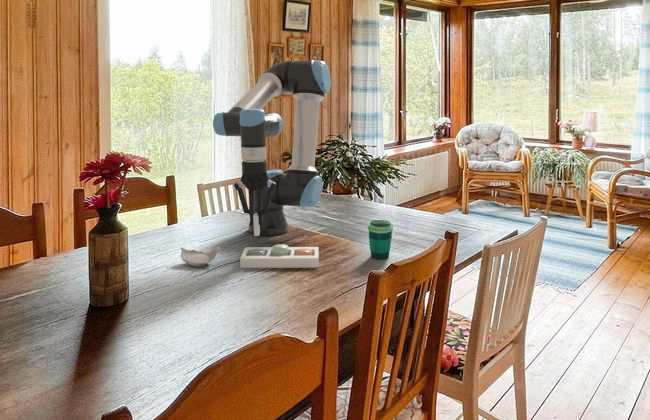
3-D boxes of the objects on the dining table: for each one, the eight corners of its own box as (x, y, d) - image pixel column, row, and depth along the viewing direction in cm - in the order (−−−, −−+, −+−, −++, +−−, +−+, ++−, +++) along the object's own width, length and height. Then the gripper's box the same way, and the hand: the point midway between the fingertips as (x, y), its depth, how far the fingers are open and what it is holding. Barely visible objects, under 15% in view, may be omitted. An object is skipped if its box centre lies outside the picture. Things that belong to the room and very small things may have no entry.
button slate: (248, 262, 173) (248, 253, 172) (250, 257, 177) (249, 248, 177) (264, 262, 173) (264, 253, 172) (265, 257, 177) (265, 248, 177)
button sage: (272, 258, 172) (271, 248, 172) (273, 253, 177) (273, 244, 176) (288, 257, 172) (287, 248, 172) (289, 253, 177) (288, 244, 177)
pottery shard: (176, 263, 174) (175, 248, 172) (207, 256, 181) (206, 241, 180) (193, 271, 166) (193, 255, 165) (225, 263, 174) (224, 248, 173)
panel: (240, 267, 169) (240, 258, 169) (245, 256, 181) (245, 247, 180) (318, 267, 169) (318, 258, 169) (318, 255, 181) (318, 246, 180)
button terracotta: (296, 262, 173) (296, 253, 172) (296, 257, 178) (296, 248, 177) (312, 262, 173) (312, 253, 172) (312, 257, 178) (312, 248, 177)
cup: (394, 255, 181) (395, 220, 178) (389, 263, 173) (390, 226, 171) (370, 253, 184) (371, 218, 181) (364, 260, 176) (364, 224, 173)
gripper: (230, 162, 164) (234, 238, 170) (274, 162, 164) (276, 237, 170) (234, 158, 171) (237, 231, 177) (276, 158, 172) (278, 231, 177)
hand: (256, 234), depth 174 cm, fingers closed
